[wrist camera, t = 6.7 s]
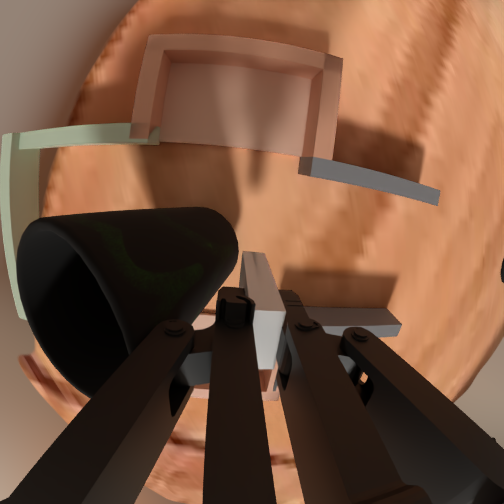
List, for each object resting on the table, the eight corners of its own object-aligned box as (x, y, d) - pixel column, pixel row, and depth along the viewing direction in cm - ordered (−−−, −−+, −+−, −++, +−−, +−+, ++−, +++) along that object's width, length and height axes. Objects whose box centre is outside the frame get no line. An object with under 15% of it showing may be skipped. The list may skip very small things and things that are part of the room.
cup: (144, 258, 21) (17, 319, 10) (182, 171, 18) (23, 180, 7) (221, 316, 20) (120, 431, 9) (276, 232, 17) (171, 326, 6)
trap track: (426, 108, 18) (456, 104, 14) (359, 374, 26) (373, 399, 22) (44, 67, 14) (18, 57, 10) (54, 348, 22) (38, 370, 18)
